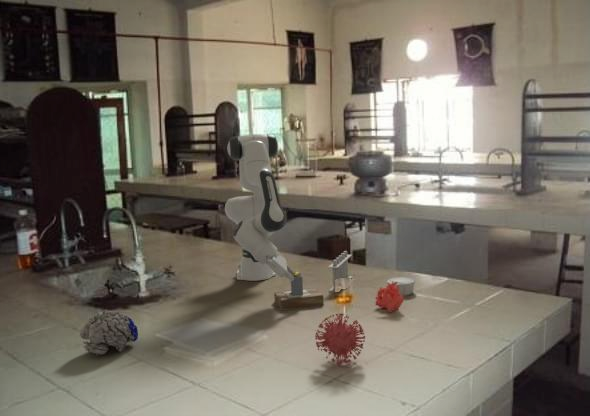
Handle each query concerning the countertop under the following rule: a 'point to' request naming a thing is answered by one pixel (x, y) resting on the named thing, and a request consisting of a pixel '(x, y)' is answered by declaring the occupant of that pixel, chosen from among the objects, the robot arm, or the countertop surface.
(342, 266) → the test tube rack
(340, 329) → the virus model
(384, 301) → the protein model
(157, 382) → the countertop surface
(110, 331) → the educational model
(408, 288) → the ramekin
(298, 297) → the dock
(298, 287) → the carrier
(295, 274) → the ball
